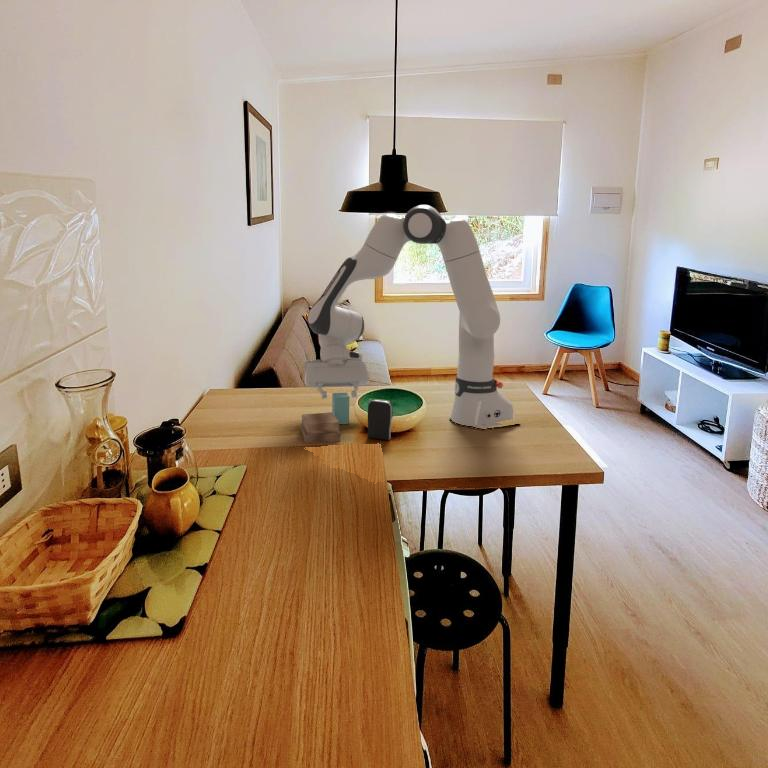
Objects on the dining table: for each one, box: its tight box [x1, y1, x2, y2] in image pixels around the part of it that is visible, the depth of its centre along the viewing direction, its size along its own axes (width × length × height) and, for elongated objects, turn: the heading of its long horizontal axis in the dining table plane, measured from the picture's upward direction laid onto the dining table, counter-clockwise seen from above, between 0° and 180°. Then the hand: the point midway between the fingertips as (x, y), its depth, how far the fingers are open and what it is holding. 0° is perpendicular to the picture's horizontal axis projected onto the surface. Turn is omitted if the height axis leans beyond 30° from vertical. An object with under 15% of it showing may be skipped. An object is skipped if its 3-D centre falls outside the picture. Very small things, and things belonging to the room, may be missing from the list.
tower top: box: [301, 411, 340, 434], centre depth 175 cm, size 9×9×3 cm
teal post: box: [331, 392, 350, 424], centre depth 187 cm, size 4×4×9 cm
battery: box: [367, 398, 394, 441], centre depth 175 cm, size 7×4×11 cm, turn 73°
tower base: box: [300, 422, 341, 444], centre depth 176 cm, size 10×10×3 cm
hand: (339, 397), depth 189 cm, fingers open, 8 cm apart
